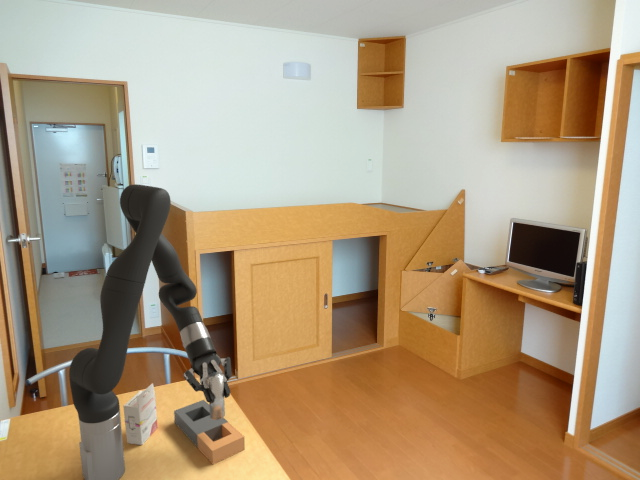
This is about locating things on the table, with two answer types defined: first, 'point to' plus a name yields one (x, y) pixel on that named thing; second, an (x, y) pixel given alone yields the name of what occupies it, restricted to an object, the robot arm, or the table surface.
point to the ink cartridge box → (140, 416)
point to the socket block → (209, 432)
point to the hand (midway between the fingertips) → (220, 399)
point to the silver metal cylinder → (216, 395)
